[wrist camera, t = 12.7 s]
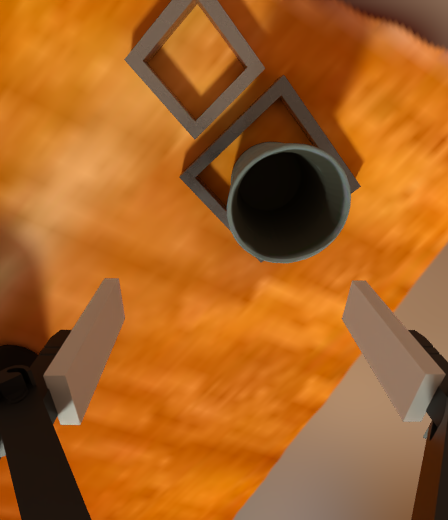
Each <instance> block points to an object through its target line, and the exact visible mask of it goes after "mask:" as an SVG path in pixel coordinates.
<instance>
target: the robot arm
mask: <svg viewBox="0 0 448 520" xmlns="http://www.w3.org/2000/svg"><path fill="white" fill-rule="evenodd" d="M124 319H125V315H124V309H123V303H122V296H121V290H120V284H119V279H115V278H105V279H104V280H103V282H102V283H101V285H100V286H99V288H98V290H97V291H96V293H95V294H94V296H93V298H92V299H91V301H90V302H89V304H88V305H87V307H86V309H85V310H84V312H83V313H82V315H81V317H80V318H79V320H78V321H77V323H76V324H75V326H74V328H73V329H72V330H60V331H59V332H57V333H56V334H55V335H54V336H52V337H51V338H50V339H49V341H48V342H47V344H46V345H45V346H44V348H43V349H42V351H41V352H40V354H39V356H37V358H36V359H35V361H34V362H33V364H32V365H31V366H30V368H29V367H28V366H24V365H14V366H11V367H8V368H5V369H3V370H2V371H0V457H2V456H5V455H6V457H7V461H8V465H9V469H10V474H11V478H12V482H13V486H14V490H15V494H16V499H17V503H18V507H19V511H20V515H21V519H22V520H91V518H90V515H89V513H88V510H87V508H86V505H85V503H84V500H83V498H82V495H81V493H80V491H79V488H78V486H77V483H76V481H75V478H74V476H73V473H72V471H71V468H70V466H69V463H68V461H67V458H66V456H65V453H64V451H63V449H62V446H61V444H60V441H59V439H58V436H57V434H56V431H55V429H54V426H53V423H54V421H55V419H56V417H57V416H58V419H59V421H60V424H61V425H80V424H81V422H82V420H83V417H84V415H85V412H86V410H87V408H88V405H89V403H90V400H91V398H92V396H93V393H94V391H95V389H96V386H97V384H98V381H99V379H100V377H101V374H102V372H103V369H104V367H105V365H106V362H107V360H108V358H109V355H110V353H111V350H112V348H113V346H114V343H115V341H116V338H117V336H118V334H119V331H120V329H121V327H122V324H123V322H124ZM342 320H343V322H344V323H345V325H346V327H347V328H348V330H349V332H350V333H351V335H352V337H353V338H354V340H355V342H356V343H357V345H358V347H359V348H360V350H361V352H362V354H363V355H364V357H365V359H366V360H367V362H368V363H369V365H370V367H371V369H372V370H373V372H374V374H375V375H376V377H377V379H378V380H379V382H380V384H381V385H382V387H383V389H384V390H385V392H386V394H387V396H388V397H389V399H390V401H391V402H392V404H393V406H394V407H395V408H396V410H397V412H398V414H399V416H400V417H401V419H402V421H403V422H404V421H408V422H411V421H422V419H423V417H424V414H425V413H426V412H427V413H428V415H429V416H430V418H431V419H432V422H431V423H430V425H429V427H428V429H427V431H426V433H425V434H424V437H423V438H425V439H426V438H427V440H426V445H425V451H424V457H423V461H422V466H421V472H420V477H419V482H418V488H417V493H416V498H415V503H414V508H413V514H412V519H411V520H448V362H447V361H446V360H445V359H444V358H443V356H442V355H440V354H439V352H438V351H437V350H436V349H435V348H433V345H432V344H431V343H430V342H429V341H428V340H427V339H426V338H425V337H424V336H422V335H421V334H419V333H418V332H417V331H415V330H407V329H406V327H405V326H404V325H403V324H402V323H401V322H400V320H399V319H398V318H397V317H396V316H395V315H394V313H393V312H392V311H391V310H390V309H389V308H388V306H387V305H386V304H385V303H384V302H383V301H382V299H381V298H380V297H379V296H378V295H377V294H376V292H375V291H374V290H373V289H372V288H371V287H370V285H369V284H368V283H367V282H366V281H352V284H351V287H350V291H349V295H348V299H347V302H346V306H345V310H344V314H343V317H342Z"/></svg>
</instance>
